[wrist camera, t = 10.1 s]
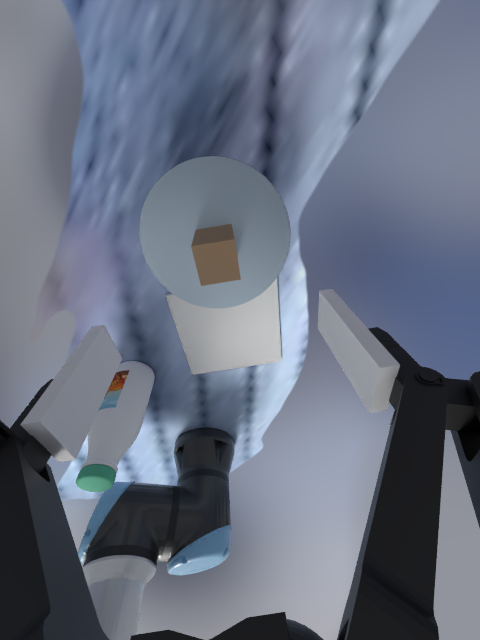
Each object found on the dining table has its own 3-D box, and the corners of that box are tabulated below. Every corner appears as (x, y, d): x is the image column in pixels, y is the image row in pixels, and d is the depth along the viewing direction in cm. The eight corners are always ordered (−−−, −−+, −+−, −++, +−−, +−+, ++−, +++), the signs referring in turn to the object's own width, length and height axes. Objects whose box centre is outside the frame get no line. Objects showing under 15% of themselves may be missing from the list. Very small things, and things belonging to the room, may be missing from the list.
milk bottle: (149, 357, 47) (113, 467, 31) (159, 385, 52) (132, 494, 35) (108, 361, 47) (49, 474, 31) (121, 389, 51) (76, 501, 35)
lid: (290, 293, 34) (305, 322, 28) (167, 313, 34) (157, 346, 29) (285, 142, 25) (306, 138, 19) (116, 171, 25) (85, 176, 19)
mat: (281, 359, 50) (281, 361, 50) (192, 372, 50) (192, 375, 50) (276, 277, 40) (277, 278, 40) (166, 294, 40) (165, 296, 40)
